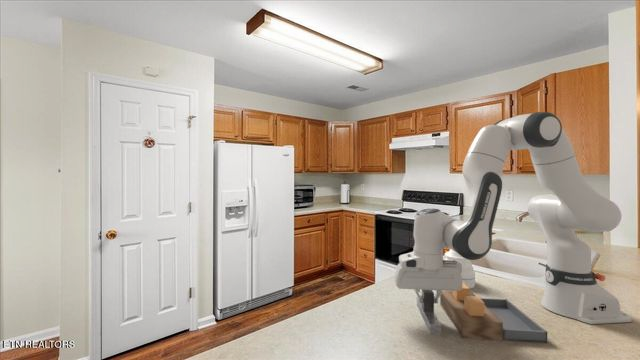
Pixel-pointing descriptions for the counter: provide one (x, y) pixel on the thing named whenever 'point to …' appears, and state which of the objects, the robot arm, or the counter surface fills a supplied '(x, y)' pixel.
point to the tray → (515, 322)
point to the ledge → (471, 319)
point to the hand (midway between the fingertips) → (427, 302)
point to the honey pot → (463, 268)
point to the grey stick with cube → (429, 312)
